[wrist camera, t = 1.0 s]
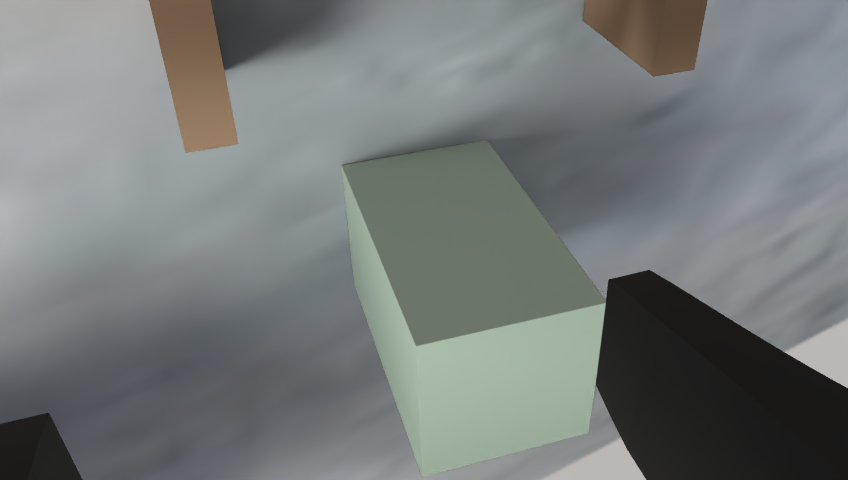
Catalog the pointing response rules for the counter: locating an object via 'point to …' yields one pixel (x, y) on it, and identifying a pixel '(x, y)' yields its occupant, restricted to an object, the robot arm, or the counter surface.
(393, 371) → the sage block
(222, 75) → the channel
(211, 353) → the counter surface
